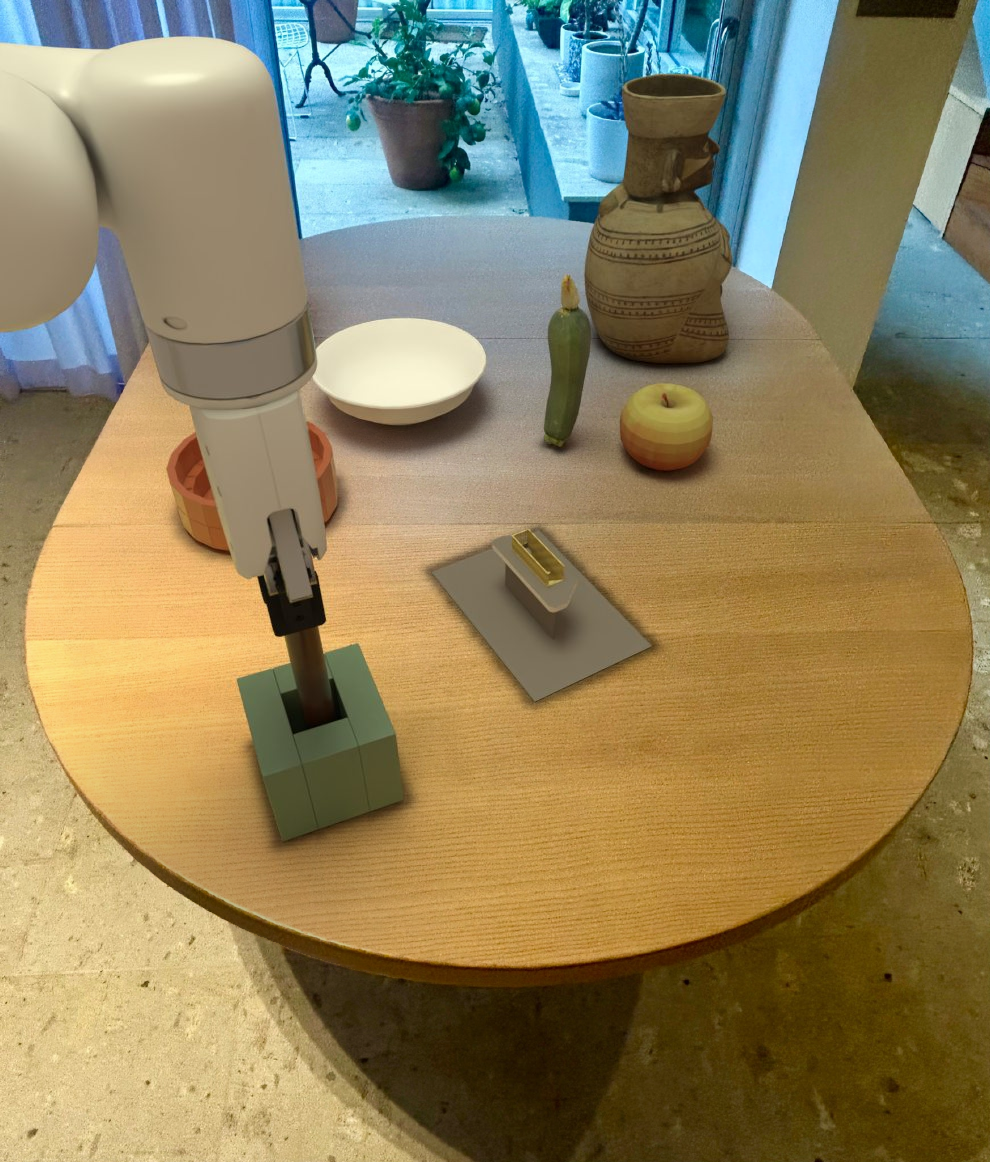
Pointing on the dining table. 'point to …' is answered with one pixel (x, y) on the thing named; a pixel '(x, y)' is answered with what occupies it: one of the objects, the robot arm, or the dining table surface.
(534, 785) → the dining table surface
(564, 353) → the vegetable
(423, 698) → the dining table surface
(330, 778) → the stand
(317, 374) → the bowl
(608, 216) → the ceramic vessel
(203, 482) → the mixing bowl
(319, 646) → the stick
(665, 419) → the apple
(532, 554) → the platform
